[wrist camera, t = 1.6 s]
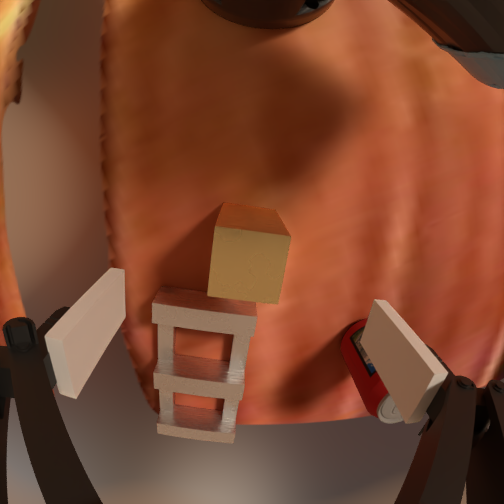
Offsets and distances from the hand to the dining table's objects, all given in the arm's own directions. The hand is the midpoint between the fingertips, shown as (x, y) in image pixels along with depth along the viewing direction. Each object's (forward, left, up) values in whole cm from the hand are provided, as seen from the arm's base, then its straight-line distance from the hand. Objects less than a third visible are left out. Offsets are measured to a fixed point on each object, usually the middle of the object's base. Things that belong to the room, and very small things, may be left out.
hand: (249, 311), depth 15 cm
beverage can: (+11, +16, -16) cm, 25 cm away
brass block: (0, 0, -16) cm, 16 cm away
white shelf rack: (+17, -3, -16) cm, 23 cm away
